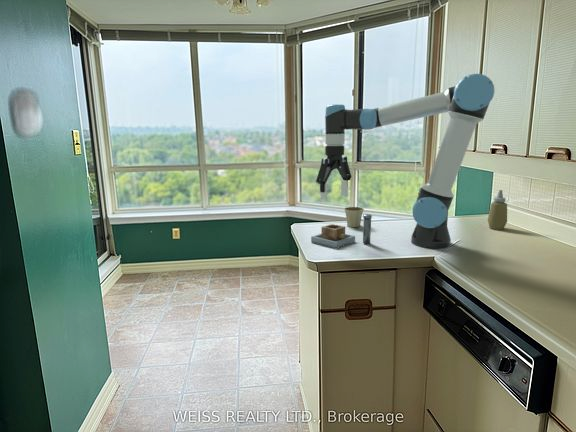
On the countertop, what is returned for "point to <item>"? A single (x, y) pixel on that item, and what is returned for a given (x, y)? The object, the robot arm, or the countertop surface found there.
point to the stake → (367, 228)
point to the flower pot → (353, 216)
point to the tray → (321, 241)
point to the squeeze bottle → (498, 212)
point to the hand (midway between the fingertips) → (334, 198)
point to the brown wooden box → (333, 232)
